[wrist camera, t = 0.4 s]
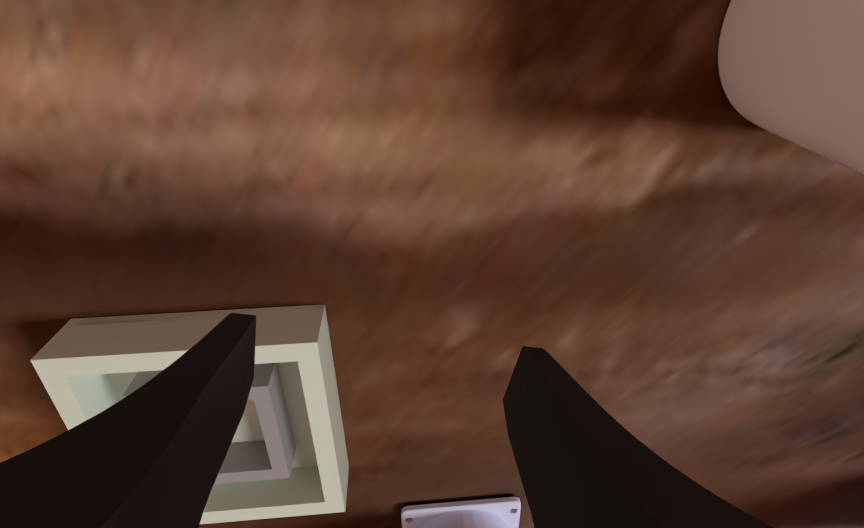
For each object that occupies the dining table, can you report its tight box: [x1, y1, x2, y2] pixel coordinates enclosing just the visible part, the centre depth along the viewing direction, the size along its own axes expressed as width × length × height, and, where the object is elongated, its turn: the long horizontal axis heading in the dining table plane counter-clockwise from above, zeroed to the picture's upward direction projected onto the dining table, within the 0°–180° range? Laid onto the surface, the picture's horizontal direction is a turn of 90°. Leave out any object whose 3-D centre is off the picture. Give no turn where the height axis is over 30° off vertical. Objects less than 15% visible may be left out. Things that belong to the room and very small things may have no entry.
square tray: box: [30, 304, 349, 524], centre depth 25 cm, size 12×12×3 cm
